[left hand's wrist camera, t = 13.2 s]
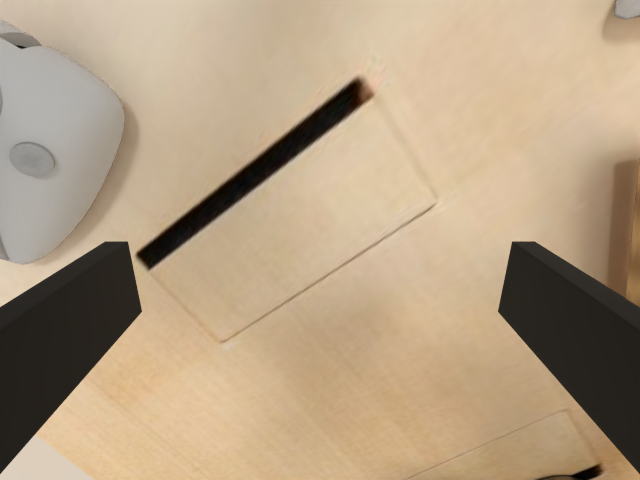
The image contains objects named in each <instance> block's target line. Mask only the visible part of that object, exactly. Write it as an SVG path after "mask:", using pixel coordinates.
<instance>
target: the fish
mask: <svg viewBox="0 0 640 480" xmlns="http://www.w3.org/2000/svg"><path fill="white" fill-rule="evenodd" d="M614 16H616V17H619V18H622V19H630V18H635V17H638V16H640V0H617V1H616V4H615V9H614Z"/></svg>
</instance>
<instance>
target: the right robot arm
mask: <svg viewBox="0 0 640 480" xmlns="http://www.w3.org/2000/svg"><path fill="white" fill-rule="evenodd" d="M542 480H584V479H581V478H577V477H569V476H558V477H550V478H546V479H542Z"/></svg>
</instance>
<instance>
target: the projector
mask: <svg viewBox="0 0 640 480" xmlns="http://www.w3.org/2000/svg"><path fill="white" fill-rule="evenodd" d="M124 124H125V113H124V109H123V105H122V103H121V101H120V100H119V98H118V96H117V95H116V94H115V92H114V91H113V90H112V89H111V88H110V87H109V86H108V85H107V84H106V83H105V82H104V81H102V80H101V79H100V78H98V77H97V76H96V75H95V74H93V73H92V72H90V71H89V70H87V69H86V68H84V67H83V66H81V65H80V64H78V63H77V62H75V61H73V60H72V59H70V58H68V57H67V56H65V55H63V54H62V53H60V52H58V51H56V50H55V49H52V48H49V47H44V46H41V44H40V43H39V42H38V41H37V40H36V39H35V38H34V37H32V36H30V35H29V34H27V33H25V32H23V31H21V30H20V29H18V28H16V27H14V26H12V25H10V24H8V23H7V22H4V21H2V20H0V259H3V260H7V261H10V262H13V263H17V264H29V263H32V262H34V261H37V260H39V259H41V258H43V257H44V256H46V255H47V254H49V253H50V252H51V251H53V250H54V249H55V248H56V247H57V246H58V245H59V244H60V243H61V242H62V241H64V239H65V238H66V237H67V236H68V235H69V234H70V233H71V232H72V231H73V230H74V228H75V227H76V226H77V225H78V223H79V222H80V221H81V219H82V218H83V217H84V215H85V214H86V213H87V211H88V209H89V208H90V206H91V205H92V203H93V201H94V200H95V198H96V196H97V195H98V193H99V191H100V189H101V187H102V185H103V183H104V181H105V179H106V177H107V175H108V173H109V170H110V168H111V166H112V163H113V161H114V158H115V156H116V153H117V151H118V148H119V145H120V142H121V138H122V134H123V130H124Z"/></svg>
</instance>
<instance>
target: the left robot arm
mask: <svg viewBox="0 0 640 480" xmlns="http://www.w3.org/2000/svg"><path fill="white" fill-rule="evenodd" d="M141 312H142V309H141V305H140V300H139V295H138V290H137V285H136V280H135V275H134V270H133V265H132V260H131V255H130V250H129V245H128V242H104V243H102V244H101V245H99V246H98V247H96V248H94V249H93V250H91V251H90V252H88V253H86V254H85V255H83V256H82V257H80V258H78V259H77V260H75V261H74V262H72V263H70V264H69V265H67V266H66V267H64V268H62V269H61V270H59V271H58V272H56V273H54V274H53V275H51V276H50V277H48V278H46V279H45V280H43V281H42V282H40V283H38V284H37V285H35V286H34V287H32V288H30V289H29V290H27V291H26V292H24V293H22V294H21V295H19V296H17V297H16V298H14V299H13V300H11V301H9V302H8V303H6V304H5V305H3V306H1V307H0V474H1V473H2V471H3V470H4V469H5V468H6V467H7V466H8V464H9V463H10V462H11V461H12V460H13V459H14V458H15V456H16V455H17V454H18V453H19V452H20V451H21V450H22V448H23V447H24V446H25V445H26V444H27V443H28V442H29V440H30V439H31V438H32V437H33V436H34V435H35V434H36V432H37V431H38V430H39V429H40V428H41V427H42V426H43V424H44V423H45V422H46V421H47V420H48V419H49V418H50V416H51V415H52V414H53V413H54V412H55V411H56V410H57V408H58V407H59V406H60V405H61V404H62V403H63V401H64V400H65V399H66V398H67V397H68V396H69V395H70V393H71V392H72V391H73V390H74V389H75V388H76V387H77V385H78V384H79V383H80V382H81V381H82V380H83V379H84V377H85V376H86V375H87V374H88V373H89V372H90V371H91V369H92V368H93V367H94V366H95V365H96V364H97V363H98V361H99V360H100V359H101V358H102V357H103V356H104V354H105V353H106V352H107V351H108V350H109V349H110V348H111V346H112V345H113V344H114V343H115V342H116V341H117V340H118V338H119V337H120V336H121V335H122V334H123V333H124V332H125V330H126V329H127V328H128V327H129V326H130V325H131V324H132V322H133V321H134V320H135V319H136V318H137V317H138V316H139V314H140V313H141ZM498 312H499V313H500V314H501V316H502V317H503V318H504V319H505V320H506V321H507V322H508V324H509V325H510V326H511V327H512V328H513V329H514V330H515V332H516V333H517V334H518V335H519V336H520V337H521V338H522V340H523V341H524V342H525V343H526V344H527V345H528V346H529V348H530V349H531V350H532V351H533V352H534V353H535V355H536V356H537V357H538V358H539V359H540V360H541V361H542V363H543V364H544V365H545V366H546V367H547V368H548V369H549V371H550V372H551V373H552V374H553V375H554V376H555V377H556V379H557V380H558V381H559V382H560V383H561V384H562V385H563V387H564V388H565V389H566V390H567V391H568V392H569V393H570V395H571V396H572V397H573V398H574V399H575V400H576V401H577V403H578V404H579V405H580V406H581V407H582V408H583V410H584V411H585V412H586V413H587V414H588V415H589V416H590V418H591V419H592V420H593V421H594V422H595V423H596V424H597V426H598V427H599V428H600V429H601V430H602V431H603V432H604V434H605V435H606V436H607V437H608V438H609V439H610V440H611V442H612V443H613V444H614V445H615V446H616V447H617V448H618V450H619V451H620V452H621V453H622V454H623V455H624V456H625V458H626V459H627V460H628V461H629V462H630V463H631V465H632V466H633V467H634V468H635V469H636V470H637V471H638V473H639V474H640V307H639V306H637V305H635V304H634V303H632V302H631V301H629V300H627V299H626V298H624V297H623V296H621V295H619V294H618V293H616V292H614V291H613V290H611V289H610V288H608V287H606V286H605V285H603V284H602V283H600V282H598V281H597V280H595V279H594V278H592V277H590V276H589V275H587V274H586V273H584V272H582V271H581V270H579V269H578V268H576V267H574V266H573V265H571V264H570V263H568V262H566V261H565V260H563V259H562V258H560V257H558V256H557V255H555V254H554V253H552V252H550V251H549V250H547V249H546V248H544V247H542V246H541V245H539V244H538V243H536V242H512V245H511V250H510V255H509V260H508V265H507V270H506V275H505V280H504V285H503V290H502V295H501V300H500V305H499V309H498Z"/></svg>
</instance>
